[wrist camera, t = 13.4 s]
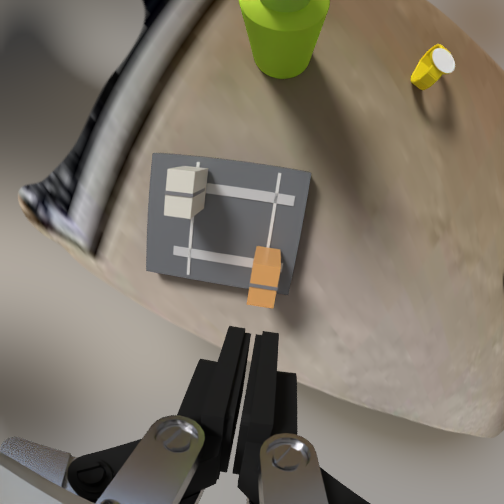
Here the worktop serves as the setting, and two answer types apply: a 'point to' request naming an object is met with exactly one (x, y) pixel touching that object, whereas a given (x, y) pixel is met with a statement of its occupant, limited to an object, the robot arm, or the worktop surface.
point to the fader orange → (264, 277)
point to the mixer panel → (227, 221)
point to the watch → (432, 67)
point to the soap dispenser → (283, 33)
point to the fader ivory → (185, 191)
